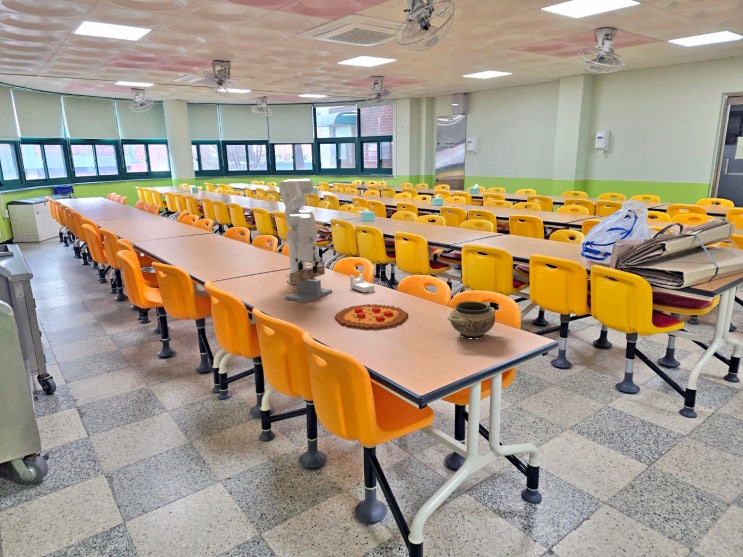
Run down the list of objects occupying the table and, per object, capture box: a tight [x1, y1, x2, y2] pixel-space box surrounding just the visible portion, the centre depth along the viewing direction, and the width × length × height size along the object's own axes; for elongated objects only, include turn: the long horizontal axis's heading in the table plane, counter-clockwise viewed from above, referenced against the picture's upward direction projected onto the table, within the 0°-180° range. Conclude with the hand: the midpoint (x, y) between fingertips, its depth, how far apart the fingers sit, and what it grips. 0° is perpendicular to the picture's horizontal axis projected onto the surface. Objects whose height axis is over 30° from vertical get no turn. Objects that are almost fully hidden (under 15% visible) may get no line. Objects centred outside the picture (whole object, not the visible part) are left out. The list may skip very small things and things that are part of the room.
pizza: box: [334, 303, 409, 331], centre depth 221 cm, size 32×32×3 cm
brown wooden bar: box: [289, 263, 326, 285], centre depth 255 cm, size 24×4×5 cm, turn 148°
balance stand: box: [284, 277, 333, 303], centre depth 257 cm, size 14×22×10 cm, turn 148°
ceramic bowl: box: [447, 300, 496, 340], centre depth 195 cm, size 24×18×15 cm
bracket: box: [349, 273, 375, 293], centre depth 266 cm, size 13×7×8 cm, turn 36°
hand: (307, 272), depth 255 cm, fingers open, 9 cm apart
